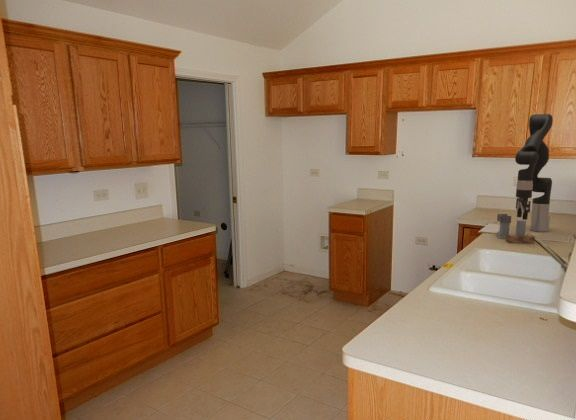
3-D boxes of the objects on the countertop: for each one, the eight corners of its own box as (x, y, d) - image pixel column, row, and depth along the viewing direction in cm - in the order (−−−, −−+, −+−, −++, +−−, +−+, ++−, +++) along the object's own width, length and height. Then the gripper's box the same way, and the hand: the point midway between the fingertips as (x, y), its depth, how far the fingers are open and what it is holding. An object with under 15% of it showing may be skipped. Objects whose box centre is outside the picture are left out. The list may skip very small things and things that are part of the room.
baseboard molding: (475, 233, 255) (496, 235, 248) (475, 228, 255) (497, 230, 248) (485, 225, 280) (504, 227, 273) (485, 221, 280) (505, 223, 273)
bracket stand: (523, 236, 241) (525, 214, 239) (529, 239, 234) (530, 216, 232) (496, 235, 244) (497, 213, 242) (500, 238, 236) (501, 215, 235)
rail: (531, 242, 227) (531, 235, 227) (534, 244, 223) (534, 237, 223) (506, 242, 229) (506, 235, 228) (508, 243, 225) (509, 236, 225)
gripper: (537, 190, 214) (534, 220, 217) (527, 187, 228) (524, 216, 230) (521, 189, 216) (519, 220, 218) (512, 187, 230) (510, 216, 232)
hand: (521, 218), depth 224 cm, fingers open, 8 cm apart
